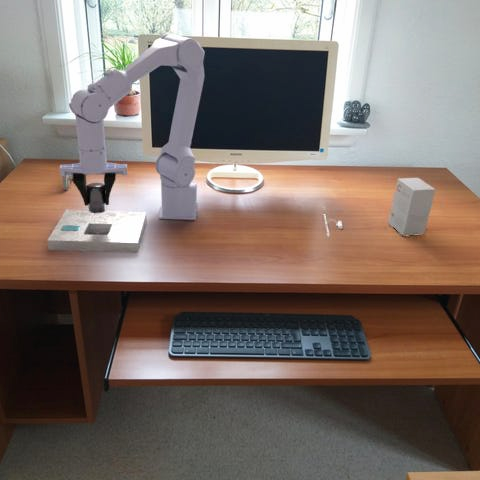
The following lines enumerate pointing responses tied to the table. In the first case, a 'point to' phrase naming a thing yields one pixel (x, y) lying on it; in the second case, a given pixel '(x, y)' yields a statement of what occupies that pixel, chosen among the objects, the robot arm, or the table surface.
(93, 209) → the cylinder
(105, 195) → the robot arm
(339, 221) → the picture light
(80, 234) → the plate
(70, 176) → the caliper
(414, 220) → the small box
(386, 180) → the table surface
